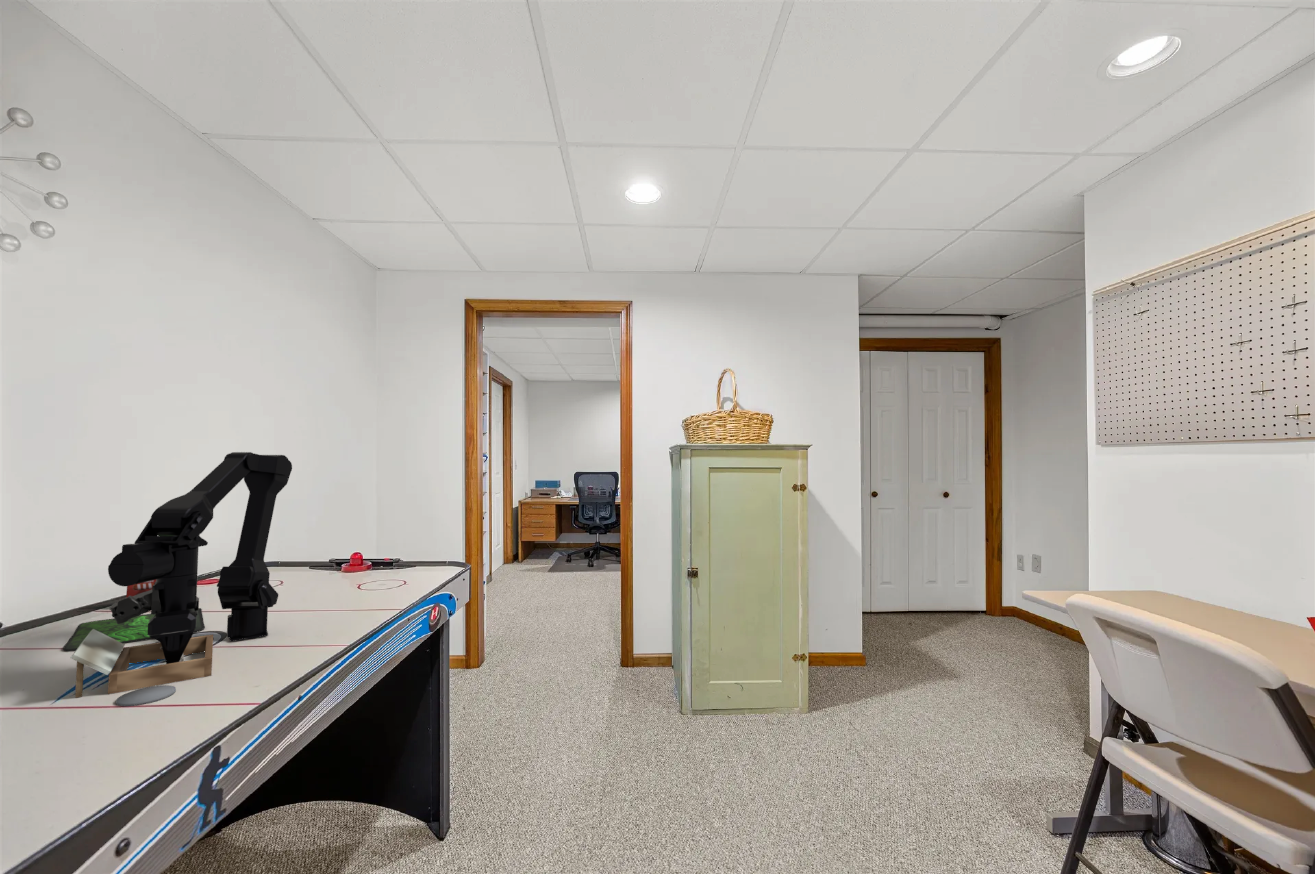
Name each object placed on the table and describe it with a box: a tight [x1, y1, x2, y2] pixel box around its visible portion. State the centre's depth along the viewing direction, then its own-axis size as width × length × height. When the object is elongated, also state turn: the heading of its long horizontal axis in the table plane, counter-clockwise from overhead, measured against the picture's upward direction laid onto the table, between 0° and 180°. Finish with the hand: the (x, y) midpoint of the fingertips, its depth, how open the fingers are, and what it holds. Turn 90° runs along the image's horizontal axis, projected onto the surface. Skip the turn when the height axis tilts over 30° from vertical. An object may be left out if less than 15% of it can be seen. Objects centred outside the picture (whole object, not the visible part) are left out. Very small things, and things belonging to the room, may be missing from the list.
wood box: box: [70, 629, 214, 699], centre depth 99 cm, size 18×17×7 cm
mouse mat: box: [63, 607, 206, 652], centre depth 126 cm, size 27×22×1 cm
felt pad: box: [115, 684, 177, 707], centre depth 89 cm, size 7×7×1 cm
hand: (173, 661), depth 101 cm, fingers open, 9 cm apart
